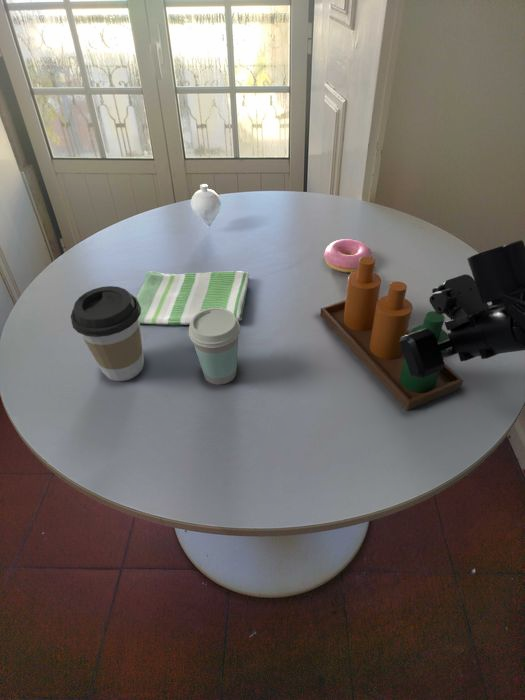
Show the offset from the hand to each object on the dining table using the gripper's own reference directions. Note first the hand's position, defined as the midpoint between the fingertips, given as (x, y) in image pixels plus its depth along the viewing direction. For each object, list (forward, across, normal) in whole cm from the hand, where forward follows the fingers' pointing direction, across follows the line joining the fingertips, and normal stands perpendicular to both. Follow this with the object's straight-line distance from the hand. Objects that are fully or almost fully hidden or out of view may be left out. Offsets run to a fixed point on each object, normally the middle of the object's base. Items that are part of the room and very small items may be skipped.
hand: (426, 344), depth 75 cm
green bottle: (+6, 0, +6) cm, 8 cm away
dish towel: (+35, +27, -23) cm, 50 cm away
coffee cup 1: (+25, +45, -13) cm, 53 cm away
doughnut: (+33, -10, -21) cm, 40 cm away
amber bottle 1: (+18, 0, -7) cm, 20 cm away
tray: (+13, 0, -1) cm, 13 cm away
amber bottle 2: (+12, 0, -1) cm, 12 cm away
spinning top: (+55, +13, -43) cm, 71 cm away
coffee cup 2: (+18, +30, -6) cm, 36 cm away
